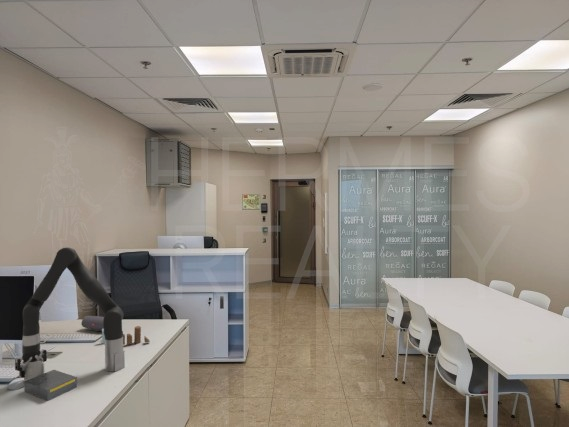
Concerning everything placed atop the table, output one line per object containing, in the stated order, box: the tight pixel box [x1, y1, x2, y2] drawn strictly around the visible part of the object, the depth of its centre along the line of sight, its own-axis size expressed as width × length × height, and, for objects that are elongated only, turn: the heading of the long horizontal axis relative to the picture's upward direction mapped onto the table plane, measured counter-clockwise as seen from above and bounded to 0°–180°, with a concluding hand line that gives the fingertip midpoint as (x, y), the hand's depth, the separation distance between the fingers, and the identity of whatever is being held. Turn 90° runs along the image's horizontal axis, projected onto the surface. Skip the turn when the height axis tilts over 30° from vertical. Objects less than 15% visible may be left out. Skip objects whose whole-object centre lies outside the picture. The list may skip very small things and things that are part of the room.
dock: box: [23, 369, 78, 402], centre depth 174 cm, size 19×14×5 cm
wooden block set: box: [123, 325, 150, 346], centre depth 231 cm, size 18×9×10 cm, turn 118°
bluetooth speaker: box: [81, 315, 104, 332], centre depth 260 cm, size 23×9×10 cm, turn 73°
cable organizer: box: [18, 357, 45, 382], centre depth 183 cm, size 6×11×11 cm, turn 96°
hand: (31, 374), depth 182 cm, fingers closed on cable organizer, 7 cm apart
